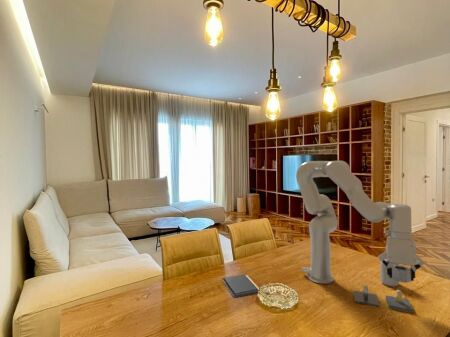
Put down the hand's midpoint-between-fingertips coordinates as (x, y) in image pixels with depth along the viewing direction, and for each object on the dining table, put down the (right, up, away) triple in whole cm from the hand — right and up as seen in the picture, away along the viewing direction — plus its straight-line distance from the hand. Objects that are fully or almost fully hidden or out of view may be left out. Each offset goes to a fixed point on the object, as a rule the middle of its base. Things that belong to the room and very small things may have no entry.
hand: (400, 277), depth 103 cm
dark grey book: (-64, -13, +19) cm, 68 cm away
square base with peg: (0, -12, +1) cm, 12 cm away
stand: (-11, -12, +6) cm, 17 cm away
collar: (0, 0, 0) cm, 0 cm away
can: (+8, -11, +19) cm, 24 cm away
